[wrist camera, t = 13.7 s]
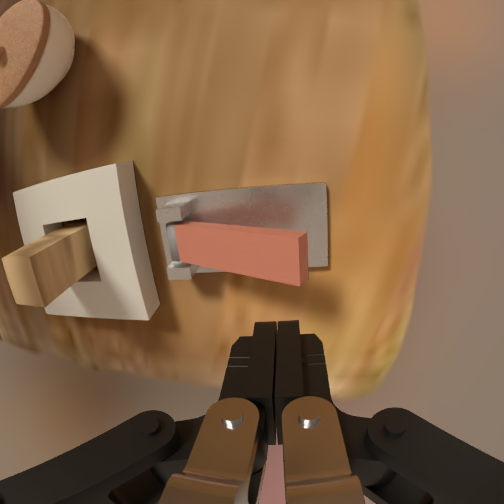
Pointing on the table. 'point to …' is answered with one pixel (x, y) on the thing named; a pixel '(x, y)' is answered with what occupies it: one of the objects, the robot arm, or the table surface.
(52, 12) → the lidded jar
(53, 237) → the peg
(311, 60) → the table surface
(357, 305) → the table surface
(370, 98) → the table surface
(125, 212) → the socket block
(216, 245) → the latch lever
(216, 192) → the lever bracket
